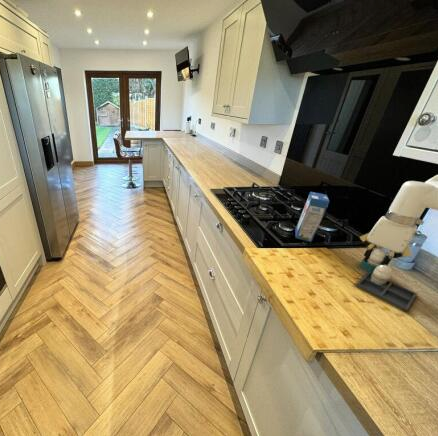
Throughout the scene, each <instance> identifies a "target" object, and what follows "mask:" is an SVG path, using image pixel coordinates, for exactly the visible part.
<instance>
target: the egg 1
mask: <svg viewBox="0 0 438 436" xmlns="http://www.w3.org/2000/svg"><path fill="white" fill-rule="evenodd" d="M387 255H388V254H387V252H386V251H385V250H384V249H383V248H373V251H372V252H371V254H370V255H369V257H368V259H367V261H368V262H367V263H369V264H371V265H373V266H376V267H377V266H379V265H381V264H382V262H383V261H384V259H385V258H386V256H387Z"/></svg>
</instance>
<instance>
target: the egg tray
mask: <svg viewBox="0 0 438 436" xmlns="http://www.w3.org/2000/svg"><path fill="white" fill-rule="evenodd" d="M371 275H372V273H371V272H367V273H366V274H365V275H364V276H363V277H362V278H361V279H360V280H358V282H357V283H356V284H355V287H356V288H357V289H360V290H361V291H364V292H365V293H368V294H369V295H372V296H374V297H376V298H377V299H379V300H381V301H383V302H385V303H387V304H390V305H391V306H394V307H396V308H397V309H399V310H401V311H403V312H405V313H407V311H408V310H409V308H410V307H411V305H412V304H413V302H414V300H415V298H416V296H417V295H418V293H417V292H415V291H412V290H410V289H408V288H406V287H404V286H401V285H399V284H398V283H395V282H392V281H390V280H388V281H387V282H386V283H384V284H383V285H379V284H377V283H375V282H372V281H371Z"/></svg>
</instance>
